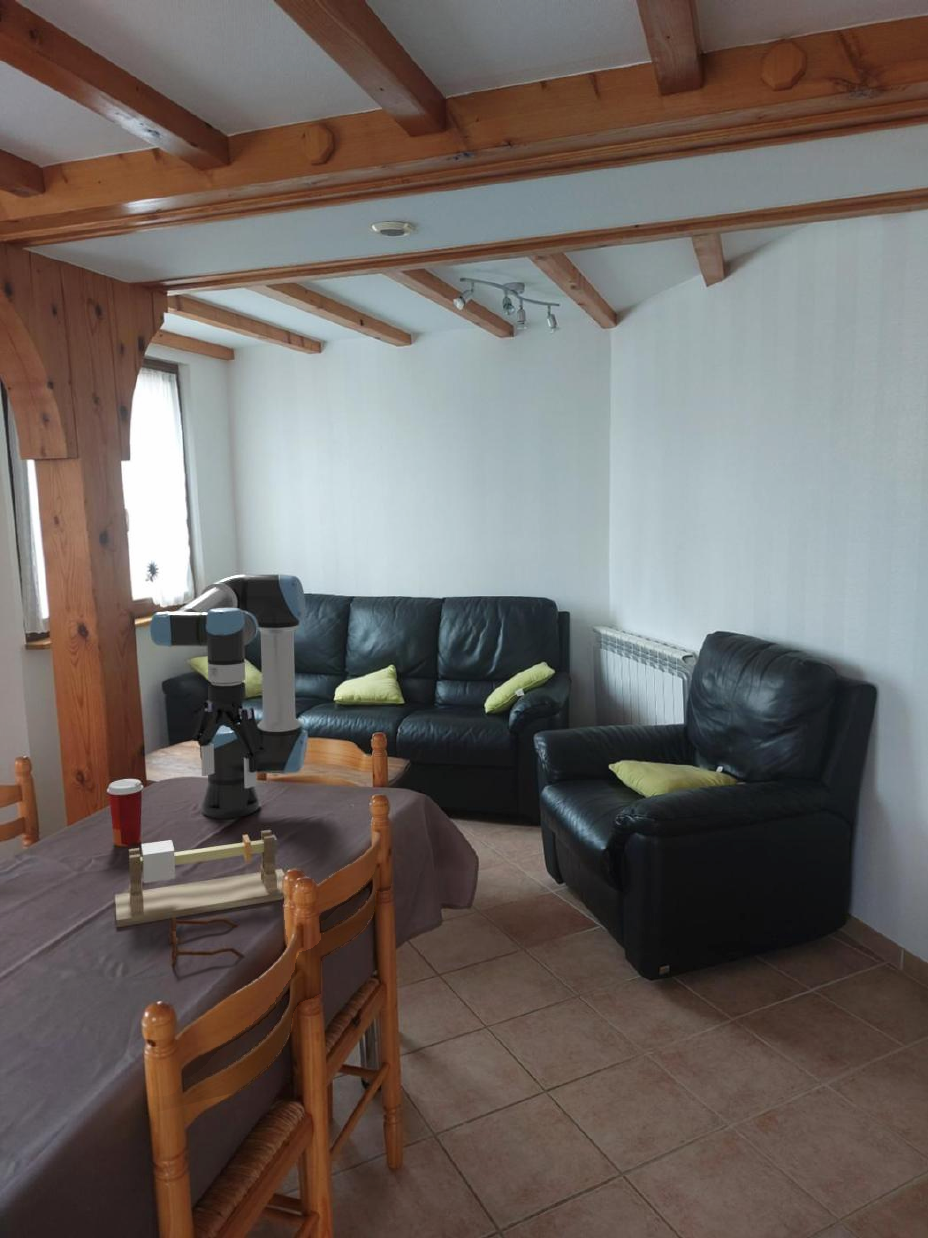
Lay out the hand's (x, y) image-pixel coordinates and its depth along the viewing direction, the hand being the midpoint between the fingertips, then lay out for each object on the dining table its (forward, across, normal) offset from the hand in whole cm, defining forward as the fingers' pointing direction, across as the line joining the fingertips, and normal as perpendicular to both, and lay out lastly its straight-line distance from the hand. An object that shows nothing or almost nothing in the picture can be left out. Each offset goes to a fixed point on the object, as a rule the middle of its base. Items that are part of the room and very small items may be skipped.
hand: (229, 780), depth 183 cm
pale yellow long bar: (+17, -2, -5) cm, 18 cm away
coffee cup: (+25, -43, +3) cm, 50 cm away
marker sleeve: (+18, -7, -13) cm, 23 cm away
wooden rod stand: (+25, -2, -5) cm, 26 cm away
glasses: (+26, +14, -18) cm, 34 cm away
